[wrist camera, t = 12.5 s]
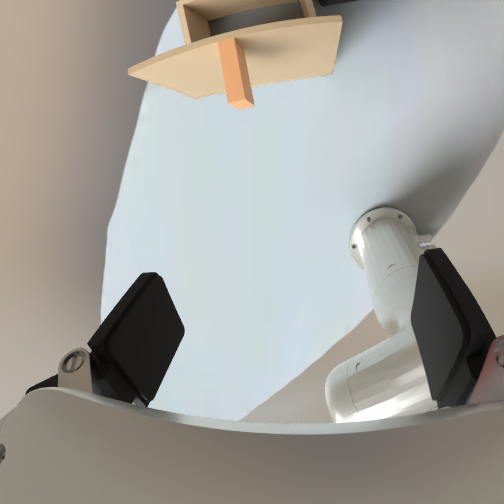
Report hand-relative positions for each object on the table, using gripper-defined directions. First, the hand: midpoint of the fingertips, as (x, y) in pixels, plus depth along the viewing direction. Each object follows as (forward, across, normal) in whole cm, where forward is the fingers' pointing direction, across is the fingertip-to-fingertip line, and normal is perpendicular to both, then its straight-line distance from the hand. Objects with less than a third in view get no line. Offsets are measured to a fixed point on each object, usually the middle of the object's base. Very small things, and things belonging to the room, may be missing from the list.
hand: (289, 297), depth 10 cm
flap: (+19, +3, -11) cm, 23 cm away
